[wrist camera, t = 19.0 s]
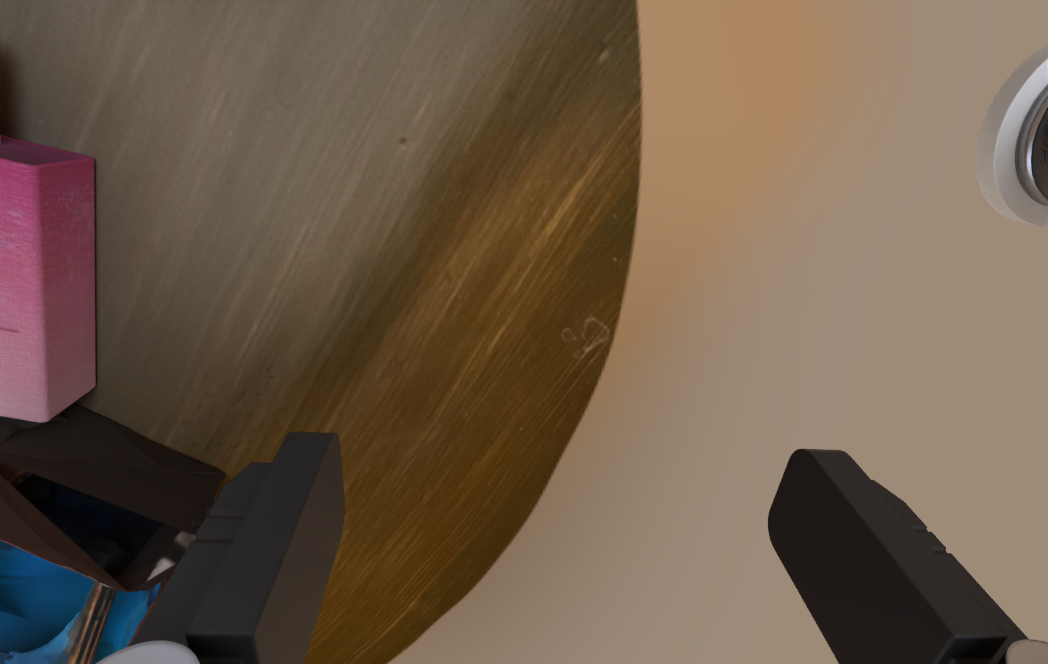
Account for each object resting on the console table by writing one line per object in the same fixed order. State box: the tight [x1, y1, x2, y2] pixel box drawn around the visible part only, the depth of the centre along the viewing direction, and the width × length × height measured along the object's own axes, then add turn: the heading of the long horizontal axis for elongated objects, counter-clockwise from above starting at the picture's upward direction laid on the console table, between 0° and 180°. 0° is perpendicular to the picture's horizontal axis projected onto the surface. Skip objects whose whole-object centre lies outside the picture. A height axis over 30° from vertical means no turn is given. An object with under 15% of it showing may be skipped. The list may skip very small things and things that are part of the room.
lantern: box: [0, 403, 225, 664], centre depth 36 cm, size 16×16×25 cm
